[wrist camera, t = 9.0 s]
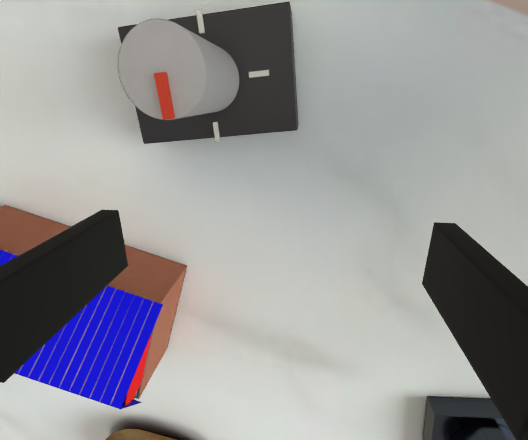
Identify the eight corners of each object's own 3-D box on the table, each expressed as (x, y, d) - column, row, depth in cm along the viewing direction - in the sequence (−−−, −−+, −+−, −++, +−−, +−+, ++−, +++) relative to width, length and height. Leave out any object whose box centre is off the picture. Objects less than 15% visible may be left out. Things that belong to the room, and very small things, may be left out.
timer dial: (173, 48, 22) (103, 24, 15) (235, 40, 22) (195, 10, 14) (185, 115, 24) (127, 124, 16) (243, 109, 23) (210, 116, 15)
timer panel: (291, 7, 23) (289, -6, 20) (298, 130, 26) (297, 134, 23) (137, 30, 25) (114, 21, 22) (160, 142, 28) (143, 148, 25)
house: (2, 201, 32) (-153, 254, 21) (190, 264, 32) (131, 350, 21) (4, 295, 37) (-122, 378, 26) (169, 350, 37) (111, 457, 26)
